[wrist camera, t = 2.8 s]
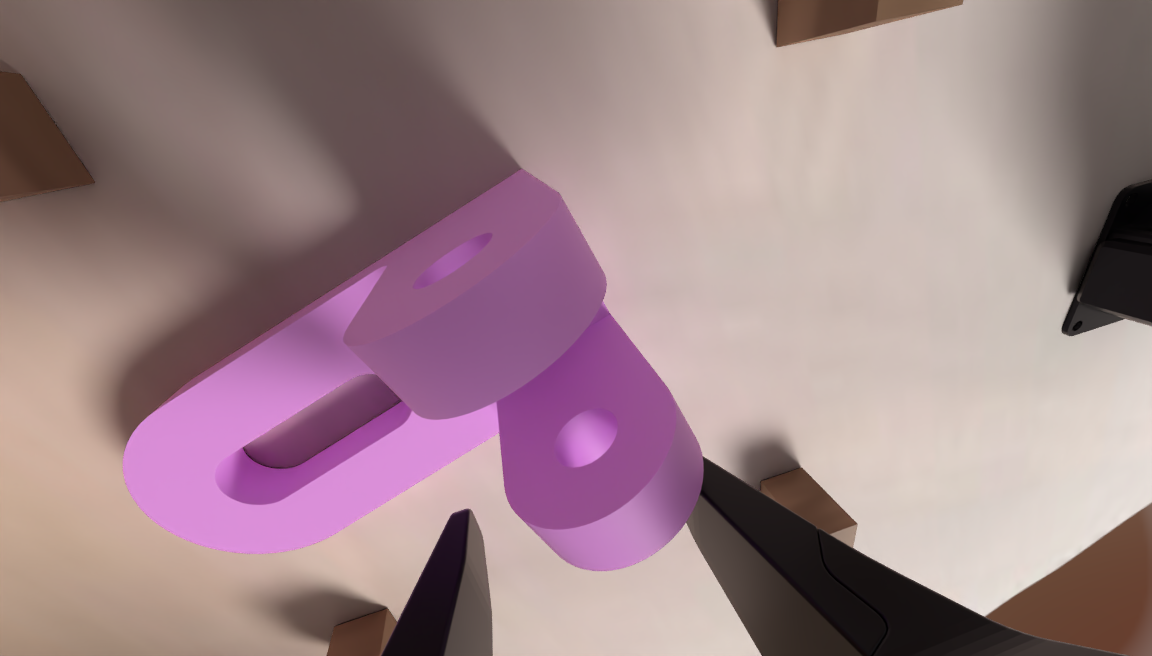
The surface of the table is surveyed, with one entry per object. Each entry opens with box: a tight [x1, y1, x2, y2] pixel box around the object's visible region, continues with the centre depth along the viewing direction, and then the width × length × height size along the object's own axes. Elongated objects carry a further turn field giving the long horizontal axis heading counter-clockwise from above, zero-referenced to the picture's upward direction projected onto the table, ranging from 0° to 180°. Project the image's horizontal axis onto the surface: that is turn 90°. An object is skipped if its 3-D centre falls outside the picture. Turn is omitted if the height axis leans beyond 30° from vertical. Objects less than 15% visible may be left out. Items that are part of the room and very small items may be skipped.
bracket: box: [123, 169, 704, 571], centre depth 9 cm, size 13×6×7 cm, turn 119°
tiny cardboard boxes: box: [0, 0, 963, 656], centre depth 12 cm, size 20×20×3 cm
